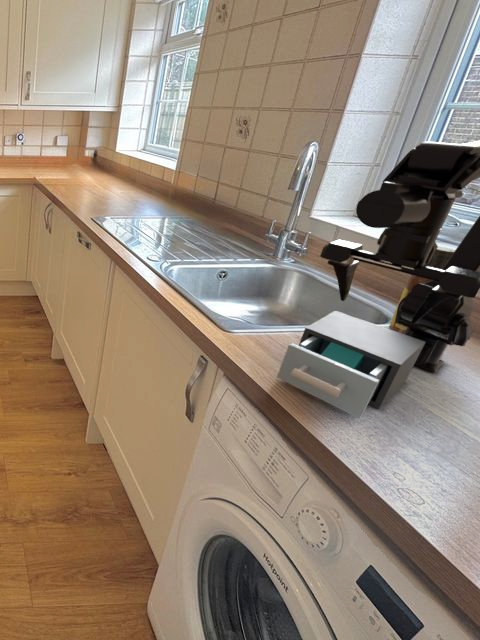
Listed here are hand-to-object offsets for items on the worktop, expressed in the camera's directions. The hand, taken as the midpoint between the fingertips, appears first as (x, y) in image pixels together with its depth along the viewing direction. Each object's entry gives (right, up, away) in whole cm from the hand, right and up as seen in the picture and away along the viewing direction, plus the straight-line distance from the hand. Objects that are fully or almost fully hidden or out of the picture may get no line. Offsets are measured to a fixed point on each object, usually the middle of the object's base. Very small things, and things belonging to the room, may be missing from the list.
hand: (376, 311), depth 71 cm
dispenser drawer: (-10, -13, -1) cm, 16 cm away
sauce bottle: (+26, -8, +19) cm, 33 cm away
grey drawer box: (-1, -12, +4) cm, 13 cm away
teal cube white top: (-7, -11, 0) cm, 13 cm away
